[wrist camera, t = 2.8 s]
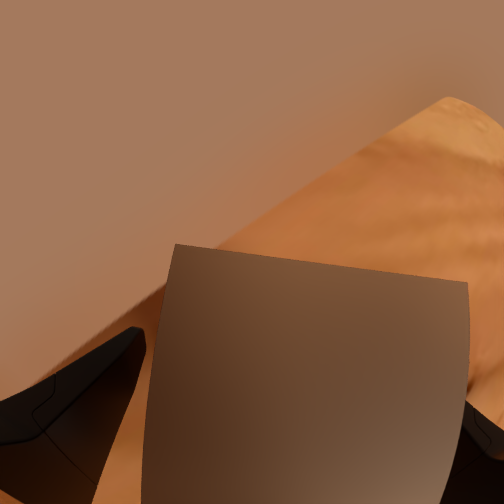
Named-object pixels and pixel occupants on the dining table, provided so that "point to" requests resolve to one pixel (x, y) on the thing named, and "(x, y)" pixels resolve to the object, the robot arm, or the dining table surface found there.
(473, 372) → the dining table surface
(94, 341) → the dining table surface
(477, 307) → the dining table surface
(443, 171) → the dining table surface
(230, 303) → the walnut pillar
